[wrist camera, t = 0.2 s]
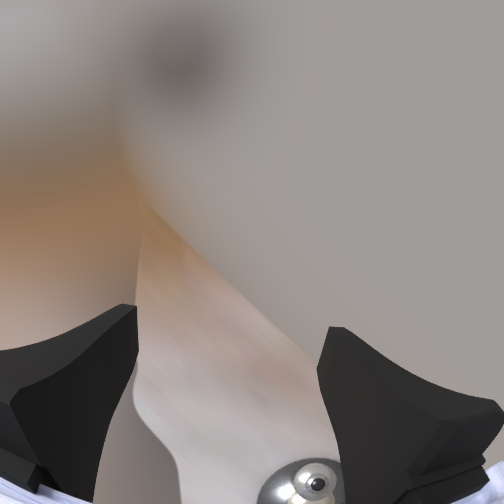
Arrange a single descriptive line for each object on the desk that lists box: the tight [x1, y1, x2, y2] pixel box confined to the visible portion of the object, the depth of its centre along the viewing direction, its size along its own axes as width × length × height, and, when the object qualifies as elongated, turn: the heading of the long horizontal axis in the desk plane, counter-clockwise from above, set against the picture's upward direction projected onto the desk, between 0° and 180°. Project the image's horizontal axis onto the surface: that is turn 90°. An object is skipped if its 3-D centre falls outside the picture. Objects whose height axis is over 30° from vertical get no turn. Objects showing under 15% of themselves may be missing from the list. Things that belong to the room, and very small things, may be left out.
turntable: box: [257, 458, 346, 504], centre depth 30 cm, size 14×14×2 cm
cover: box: [291, 462, 337, 501], centre depth 30 cm, size 5×5×3 cm
